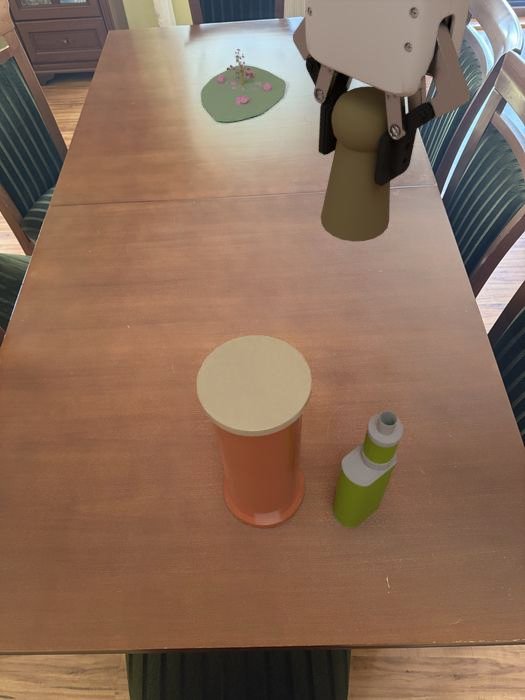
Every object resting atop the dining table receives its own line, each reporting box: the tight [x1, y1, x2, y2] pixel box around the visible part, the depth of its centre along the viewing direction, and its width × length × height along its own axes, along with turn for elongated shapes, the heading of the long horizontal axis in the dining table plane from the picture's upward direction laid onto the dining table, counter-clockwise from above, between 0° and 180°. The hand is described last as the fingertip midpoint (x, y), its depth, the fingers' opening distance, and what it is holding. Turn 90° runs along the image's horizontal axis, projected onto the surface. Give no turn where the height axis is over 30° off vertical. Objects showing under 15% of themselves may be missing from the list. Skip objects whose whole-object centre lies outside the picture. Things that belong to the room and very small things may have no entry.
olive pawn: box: [320, 85, 391, 242], centre depth 41 cm, size 6×6×11 cm
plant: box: [200, 48, 286, 123], centre depth 120 cm, size 25×21×9 cm
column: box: [196, 334, 313, 529], centre depth 54 cm, size 10×10×24 cm
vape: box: [332, 410, 404, 529], centre depth 53 cm, size 4×6×20 cm, turn 127°
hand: (361, 160), depth 41 cm, fingers closed on olive pawn, 5 cm apart
